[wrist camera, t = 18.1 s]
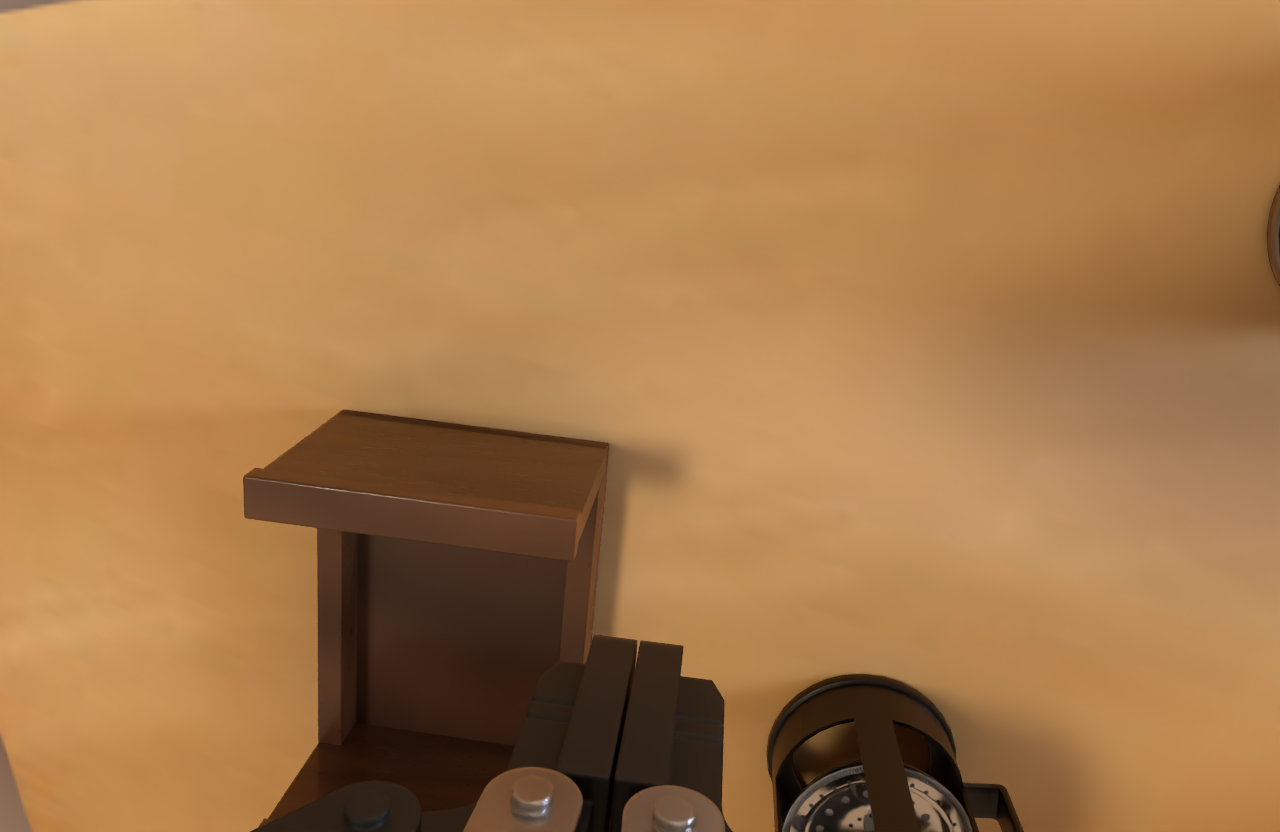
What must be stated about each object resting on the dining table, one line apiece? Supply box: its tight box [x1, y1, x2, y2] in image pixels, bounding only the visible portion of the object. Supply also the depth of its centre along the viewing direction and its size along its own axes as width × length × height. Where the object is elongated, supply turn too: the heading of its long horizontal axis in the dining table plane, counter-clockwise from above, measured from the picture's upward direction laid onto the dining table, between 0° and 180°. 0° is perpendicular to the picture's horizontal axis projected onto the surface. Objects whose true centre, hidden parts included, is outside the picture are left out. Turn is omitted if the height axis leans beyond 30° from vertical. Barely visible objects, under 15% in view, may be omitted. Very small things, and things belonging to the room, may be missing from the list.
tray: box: [243, 410, 609, 828], centre depth 44 cm, size 19×13×10 cm
